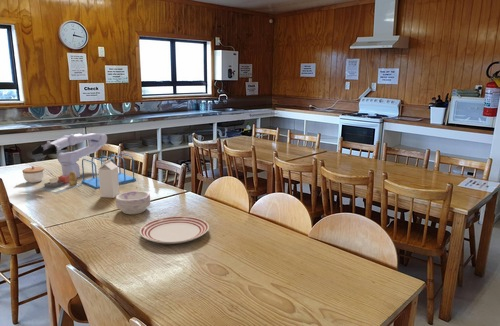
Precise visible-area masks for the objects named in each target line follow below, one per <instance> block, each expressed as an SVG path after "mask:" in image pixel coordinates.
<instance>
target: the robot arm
mask: <svg viewBox="0 0 500 326" xmlns="http://www.w3.org/2000/svg"><path fill="white" fill-rule="evenodd" d="M87 140H88V141H89V142H88V145H87V146H85V147H81V148H79V149H76V150H73V151H66V152H60V151H61V150H63V149H64V148H67V147H69V146H75V145H76V144H82V143H84V141H87ZM107 141H108V136H107V134H106V133H95V132H91V133H86V134H82V133H80V132H76V133H75V134H73V133H71V134H70V135H69V134H68V135H67V134H63V135H62V136H61V137H60V138H58V139H56V140H53V141H50V140H47V141H46V143H45V144H37V146H36V147H35V148H33V149H32V150H31V155H33V156H36V155H38V154H40V155H41V154H42V156H48V155H57V154H58V152H59V154H58V155H57V161H58V163H59V164H60V165H61V173H62V175H69V174H70V172H72V171H73V172H75V174H76V179H77V178H79V177H82V176H81V170H80V165H79V164H78V163H77V162H79V161H80V159H81V158H84V157H86V156H89V155H92V154H94V153H96V152H98V151H100V149H101V148H102V147H103V146H104V145H106V144H107V143H108V142H107ZM62 175H61V176H62Z"/></svg>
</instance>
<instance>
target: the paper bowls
mask: <svg viewBox="0 0 500 326" xmlns="http://www.w3.org/2000/svg"><path fill="white" fill-rule="evenodd" d="M115 204H116V209H118V210H121V212H122V213H124V214H126V215H137V214H141V213H143V212H145V211H146V209H147V208H148V207H150V205H151V195H150V193H149V192H147V191H142V190H131V191H127V192H121V193H119V194H118V195H117V196H115Z"/></svg>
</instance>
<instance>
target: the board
mask: <svg viewBox="0 0 500 326" xmlns="http://www.w3.org/2000/svg"><path fill="white" fill-rule="evenodd" d="M84 185H85V184H84V183H78V182H77V185H74V186H71V185H70V182H69V183H67V184H64V185H62V186H59V187H56V188H49V187H45V186H44V187H40V188H37V189H35V190H37V191H42V192H48V193H53V194H60V193H63V192H66V191H69V190H72V189H75V188H78V187H81V186H84Z"/></svg>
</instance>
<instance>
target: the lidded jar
mask: <svg viewBox="0 0 500 326" xmlns="http://www.w3.org/2000/svg"><path fill="white" fill-rule="evenodd" d="M44 170H45V168H44V167H41V166H40V167H39V166H33V165H32V166H31V167H28V168H24V169H22V175H23V179H24V180H25V181H26V182H27V183H28V184H33V183H39V182H41V181H42V180H43V179H44V176H45V174H44V173H45V171H44Z"/></svg>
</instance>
